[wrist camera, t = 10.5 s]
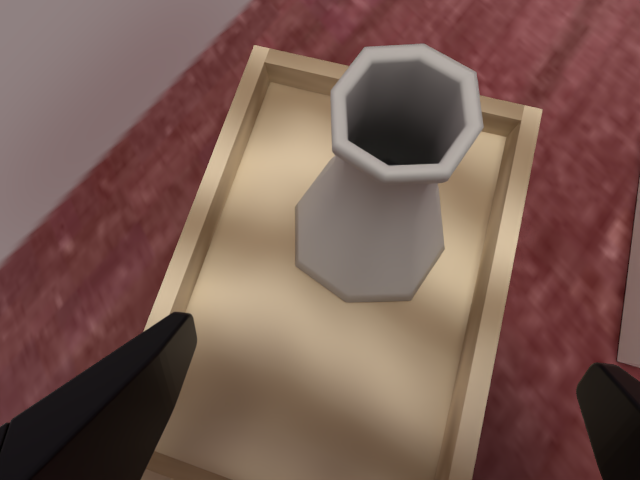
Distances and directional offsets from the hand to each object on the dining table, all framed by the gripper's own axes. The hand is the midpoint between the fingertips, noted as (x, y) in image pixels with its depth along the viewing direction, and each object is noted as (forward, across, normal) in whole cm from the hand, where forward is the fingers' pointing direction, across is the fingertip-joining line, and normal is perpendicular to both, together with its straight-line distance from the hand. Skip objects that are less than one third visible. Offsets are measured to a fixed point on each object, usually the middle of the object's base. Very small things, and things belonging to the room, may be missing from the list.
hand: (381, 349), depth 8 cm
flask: (+9, 0, +2) cm, 10 cm away
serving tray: (+8, +2, +5) cm, 9 cm away
